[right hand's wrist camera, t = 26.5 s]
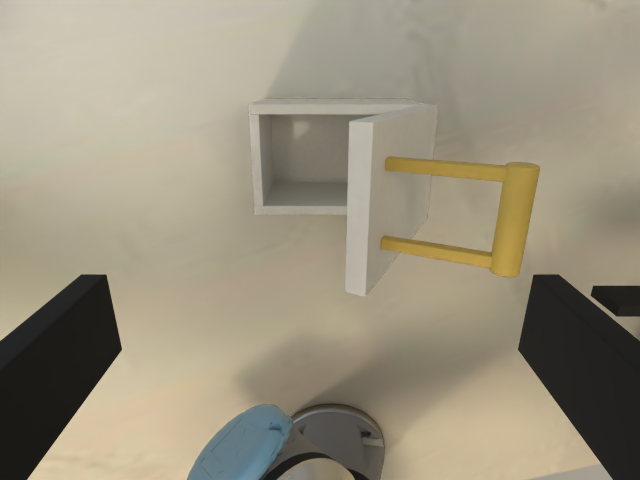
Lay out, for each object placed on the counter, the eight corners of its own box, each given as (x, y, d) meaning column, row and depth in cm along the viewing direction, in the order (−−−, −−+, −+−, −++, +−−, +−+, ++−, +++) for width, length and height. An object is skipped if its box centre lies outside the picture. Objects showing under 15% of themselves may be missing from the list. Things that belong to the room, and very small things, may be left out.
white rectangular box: (344, 292, 24) (510, 330, 20) (348, 121, 20) (550, 130, 17) (413, 216, 37) (520, 231, 33) (422, 104, 34) (544, 107, 30)
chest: (267, 188, 47) (254, 214, 37) (263, 98, 43) (248, 104, 34) (399, 188, 47) (418, 215, 37) (405, 98, 43) (428, 104, 34)
